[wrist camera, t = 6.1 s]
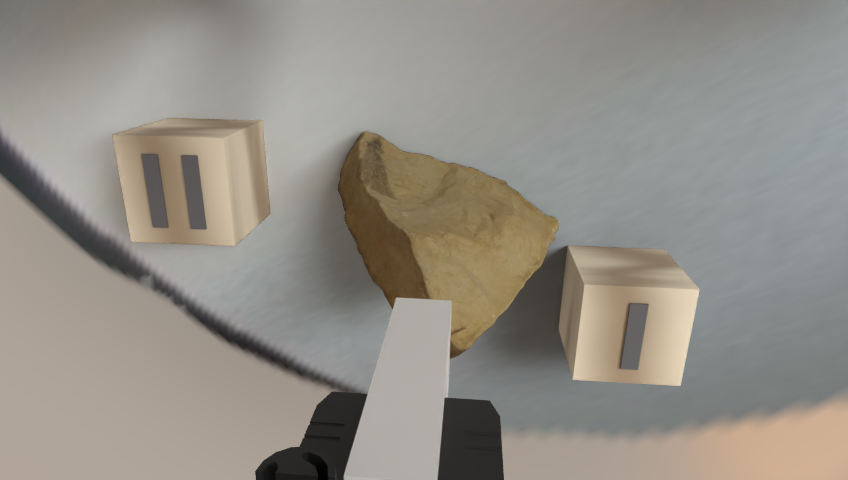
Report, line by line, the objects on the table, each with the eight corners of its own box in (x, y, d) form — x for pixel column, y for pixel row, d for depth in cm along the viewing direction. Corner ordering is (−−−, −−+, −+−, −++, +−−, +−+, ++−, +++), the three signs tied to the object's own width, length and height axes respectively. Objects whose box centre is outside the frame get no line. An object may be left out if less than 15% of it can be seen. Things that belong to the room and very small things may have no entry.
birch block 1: (263, 120, 29) (222, 138, 25) (270, 213, 31) (234, 247, 26) (168, 117, 30) (110, 135, 25) (181, 210, 32) (129, 242, 27)
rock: (272, 184, 28) (377, 353, 29) (309, 138, 20) (450, 372, 21) (440, 92, 32) (526, 244, 33) (524, 25, 24) (633, 227, 26)
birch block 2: (664, 248, 30) (700, 290, 25) (649, 333, 32) (681, 387, 27) (567, 244, 30) (585, 285, 26) (558, 328, 32) (573, 381, 27)
